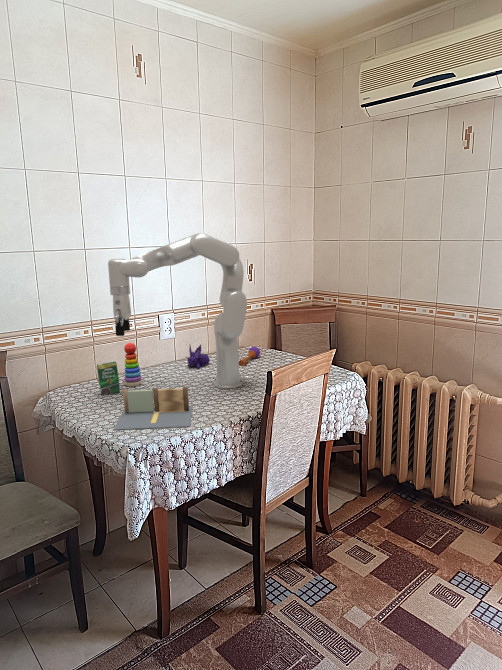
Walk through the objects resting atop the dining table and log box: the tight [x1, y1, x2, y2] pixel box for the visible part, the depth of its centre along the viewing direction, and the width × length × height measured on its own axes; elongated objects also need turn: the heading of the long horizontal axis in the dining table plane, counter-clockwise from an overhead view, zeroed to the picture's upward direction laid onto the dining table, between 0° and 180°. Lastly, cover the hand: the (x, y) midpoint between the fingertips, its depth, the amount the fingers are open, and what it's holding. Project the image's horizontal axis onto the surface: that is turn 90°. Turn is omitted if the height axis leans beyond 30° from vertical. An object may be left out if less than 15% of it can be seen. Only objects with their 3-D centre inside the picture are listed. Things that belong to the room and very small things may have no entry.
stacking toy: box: [123, 342, 143, 387], centre depth 217 cm, size 8×8×19 cm
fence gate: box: [122, 388, 154, 413], centre depth 184 cm, size 11×2×9 cm, turn 93°
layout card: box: [112, 405, 194, 431], centre depth 180 cm, size 26×19×1 cm
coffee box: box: [96, 361, 121, 396], centre depth 207 cm, size 8×3×13 cm, turn 114°
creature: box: [185, 344, 211, 369], centre depth 244 cm, size 9×18×12 cm, turn 147°
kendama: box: [239, 346, 261, 367], centre depth 252 cm, size 6×6×20 cm
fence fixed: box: [152, 385, 190, 412], centre depth 184 cm, size 13×2×9 cm, turn 93°
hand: (123, 333), depth 198 cm, fingers open, 9 cm apart
